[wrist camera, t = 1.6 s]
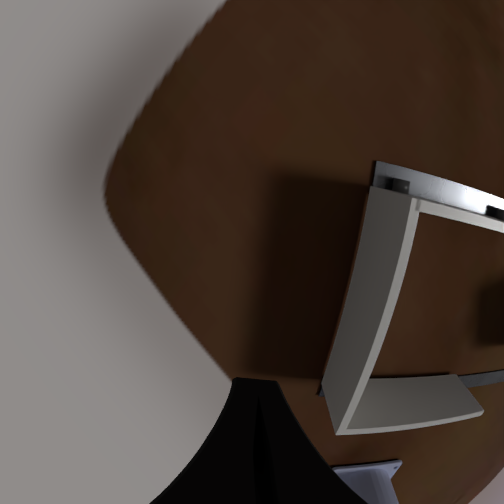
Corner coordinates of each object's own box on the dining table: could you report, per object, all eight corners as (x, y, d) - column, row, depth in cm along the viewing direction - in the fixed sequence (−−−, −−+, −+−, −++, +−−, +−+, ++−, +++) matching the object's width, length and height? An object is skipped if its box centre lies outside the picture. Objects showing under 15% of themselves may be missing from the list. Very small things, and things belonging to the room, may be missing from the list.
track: (535, 373, 22) (536, 373, 22) (318, 395, 21) (318, 396, 21) (585, 235, 17) (586, 236, 17) (375, 160, 16) (376, 160, 16)
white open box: (449, 384, 21) (476, 422, 16) (318, 390, 21) (331, 442, 16) (510, 212, 17) (558, 228, 12) (371, 172, 16) (415, 179, 11)
